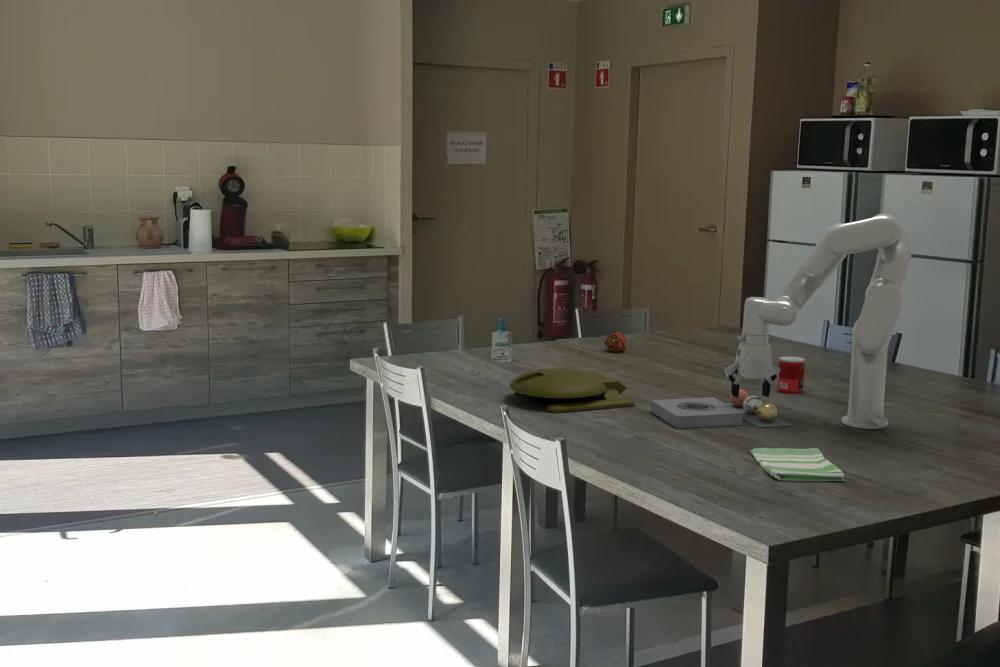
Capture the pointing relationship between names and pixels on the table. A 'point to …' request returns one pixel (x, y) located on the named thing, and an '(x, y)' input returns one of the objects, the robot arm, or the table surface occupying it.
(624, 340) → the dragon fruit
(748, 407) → the steel ball
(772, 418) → the brass ball
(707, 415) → the board
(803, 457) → the dish towel
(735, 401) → the rubber ball
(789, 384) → the canned food
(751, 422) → the mat
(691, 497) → the table surface
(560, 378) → the spaceship
